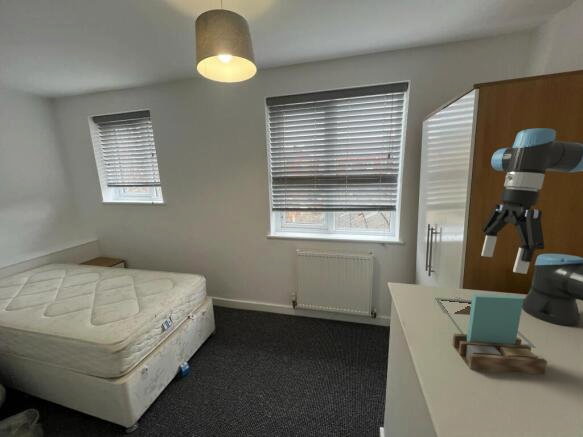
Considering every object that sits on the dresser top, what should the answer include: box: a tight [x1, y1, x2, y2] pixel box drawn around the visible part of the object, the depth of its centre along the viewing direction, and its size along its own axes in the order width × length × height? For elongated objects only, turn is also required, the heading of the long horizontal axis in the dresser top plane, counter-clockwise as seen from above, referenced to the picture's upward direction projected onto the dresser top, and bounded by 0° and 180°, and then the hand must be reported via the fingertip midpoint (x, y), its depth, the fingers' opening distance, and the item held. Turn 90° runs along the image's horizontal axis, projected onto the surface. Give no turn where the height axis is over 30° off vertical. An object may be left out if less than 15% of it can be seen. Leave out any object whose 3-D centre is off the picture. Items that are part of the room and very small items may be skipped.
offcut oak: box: [500, 347, 538, 358], centre depth 67 cm, size 7×3×4 cm, turn 83°
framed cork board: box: [434, 296, 537, 348], centre depth 90 cm, size 19×2×30 cm
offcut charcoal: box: [466, 345, 502, 361], centre depth 69 cm, size 7×3×4 cm, turn 83°
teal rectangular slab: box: [466, 293, 524, 345], centre depth 71 cm, size 12×2×18 cm, turn 83°
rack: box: [451, 333, 548, 376], centre depth 70 cm, size 18×9×5 cm, turn 83°
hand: (501, 263), depth 70 cm, fingers open, 13 cm apart
